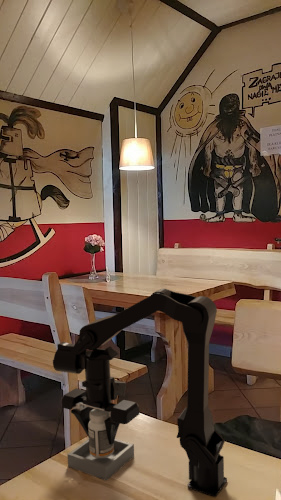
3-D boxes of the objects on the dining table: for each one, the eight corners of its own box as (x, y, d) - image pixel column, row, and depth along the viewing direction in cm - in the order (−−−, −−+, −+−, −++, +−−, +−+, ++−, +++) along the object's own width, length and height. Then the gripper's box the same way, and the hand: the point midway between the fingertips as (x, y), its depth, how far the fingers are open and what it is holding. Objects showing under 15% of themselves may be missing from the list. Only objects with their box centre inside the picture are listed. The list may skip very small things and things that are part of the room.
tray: (134, 456, 106) (133, 444, 106) (106, 480, 97) (105, 467, 97) (97, 444, 112) (96, 432, 112) (68, 466, 103) (67, 454, 103)
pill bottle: (115, 446, 107) (113, 406, 106) (111, 459, 101) (109, 417, 100) (92, 446, 108) (90, 406, 107) (87, 459, 102) (85, 417, 101)
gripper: (150, 370, 104) (153, 434, 106) (88, 358, 114) (91, 417, 116) (123, 387, 95) (126, 457, 97) (58, 373, 105) (61, 436, 107)
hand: (101, 440), depth 104 cm, fingers closed on pill bottle, 6 cm apart
